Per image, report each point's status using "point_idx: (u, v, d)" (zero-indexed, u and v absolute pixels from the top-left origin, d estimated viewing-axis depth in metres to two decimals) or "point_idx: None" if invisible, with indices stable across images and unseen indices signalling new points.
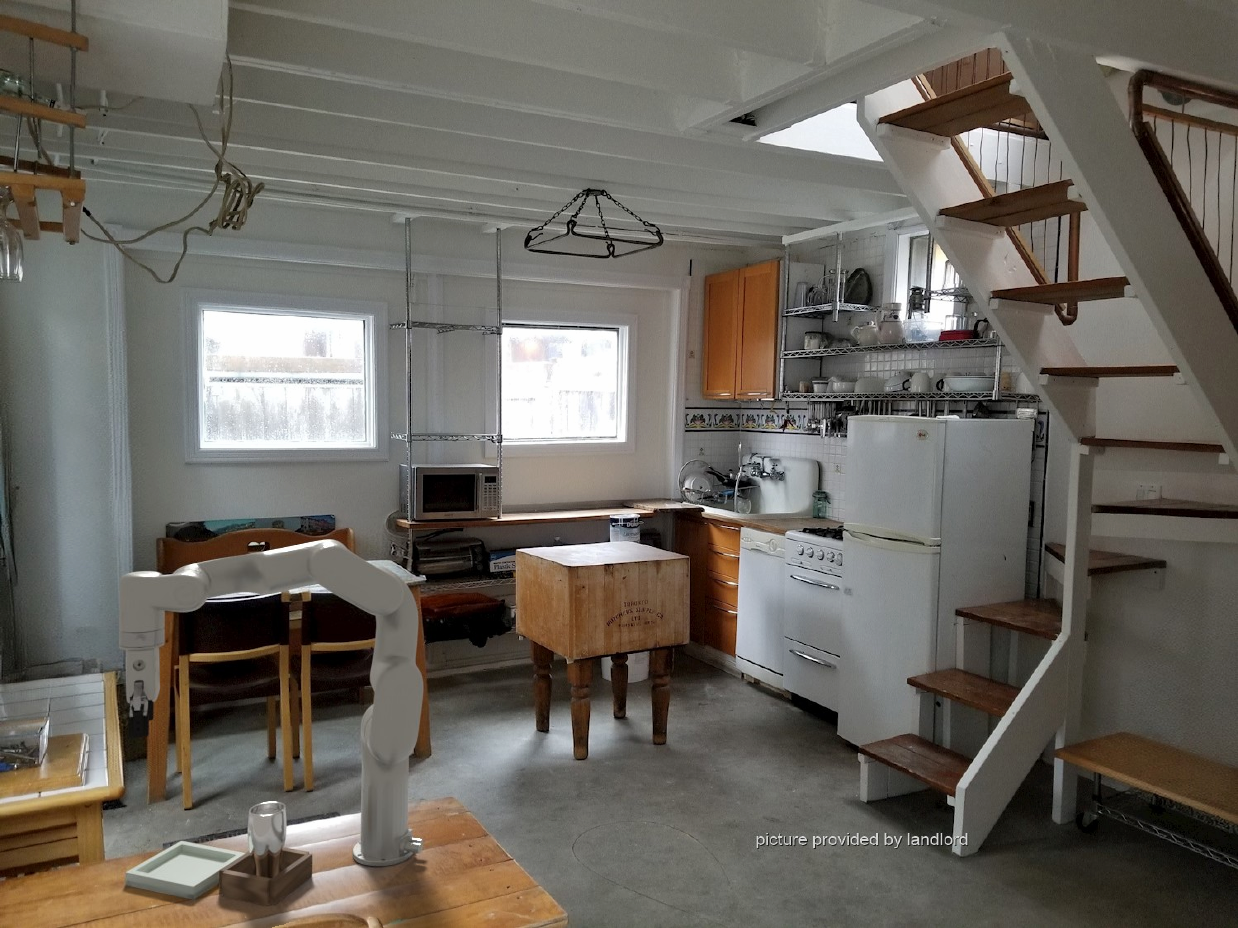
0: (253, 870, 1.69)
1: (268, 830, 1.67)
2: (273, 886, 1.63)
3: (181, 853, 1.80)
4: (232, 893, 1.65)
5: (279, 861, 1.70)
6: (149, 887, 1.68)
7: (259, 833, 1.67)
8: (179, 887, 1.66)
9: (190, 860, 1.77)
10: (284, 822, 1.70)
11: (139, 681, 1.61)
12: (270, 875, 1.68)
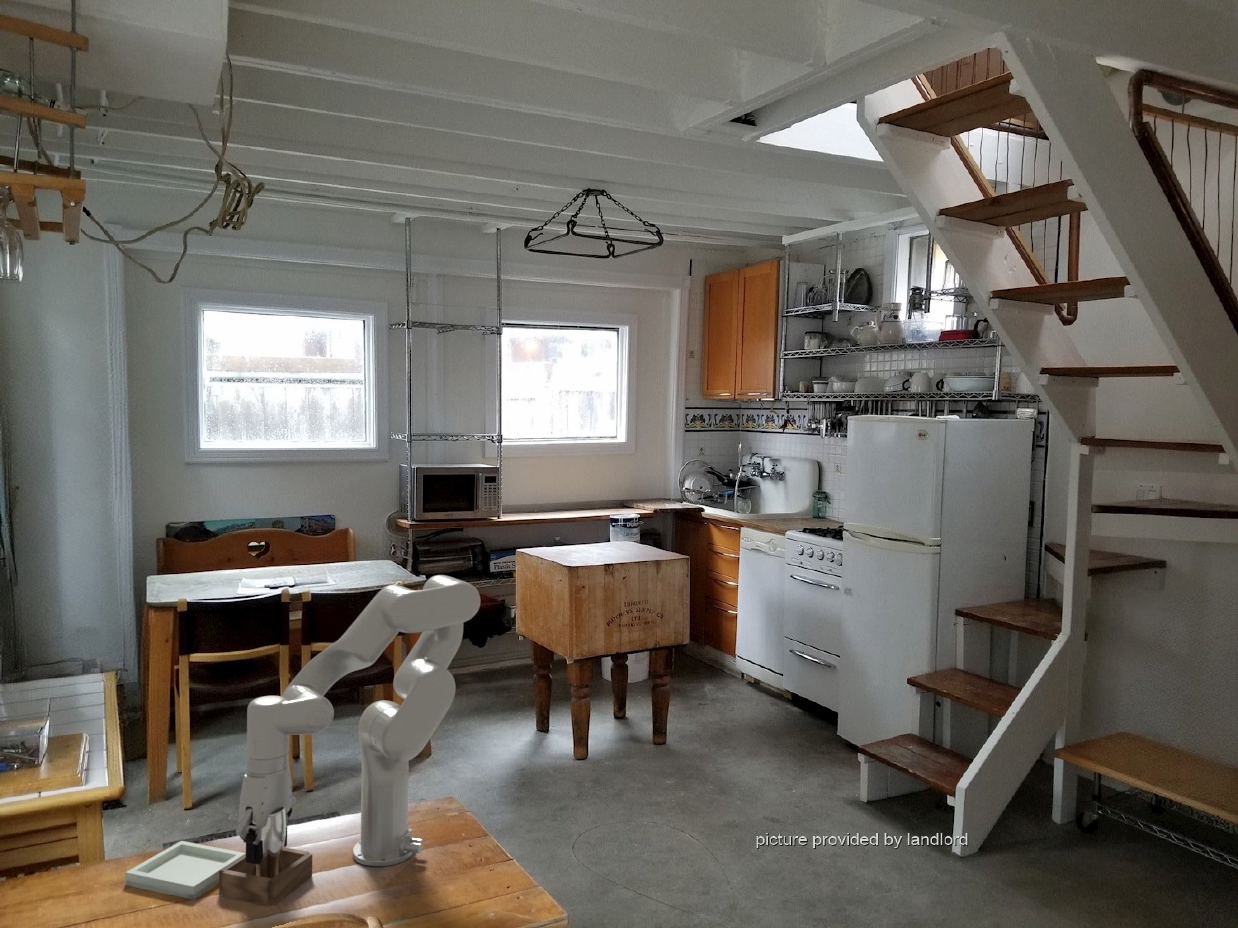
0: (253, 870, 1.69)
1: (268, 830, 1.67)
2: (273, 886, 1.63)
3: (181, 853, 1.80)
4: (232, 893, 1.65)
5: (279, 861, 1.70)
6: (149, 887, 1.68)
7: None
8: (179, 887, 1.66)
9: (190, 860, 1.77)
10: (284, 822, 1.70)
11: None
12: (270, 875, 1.68)
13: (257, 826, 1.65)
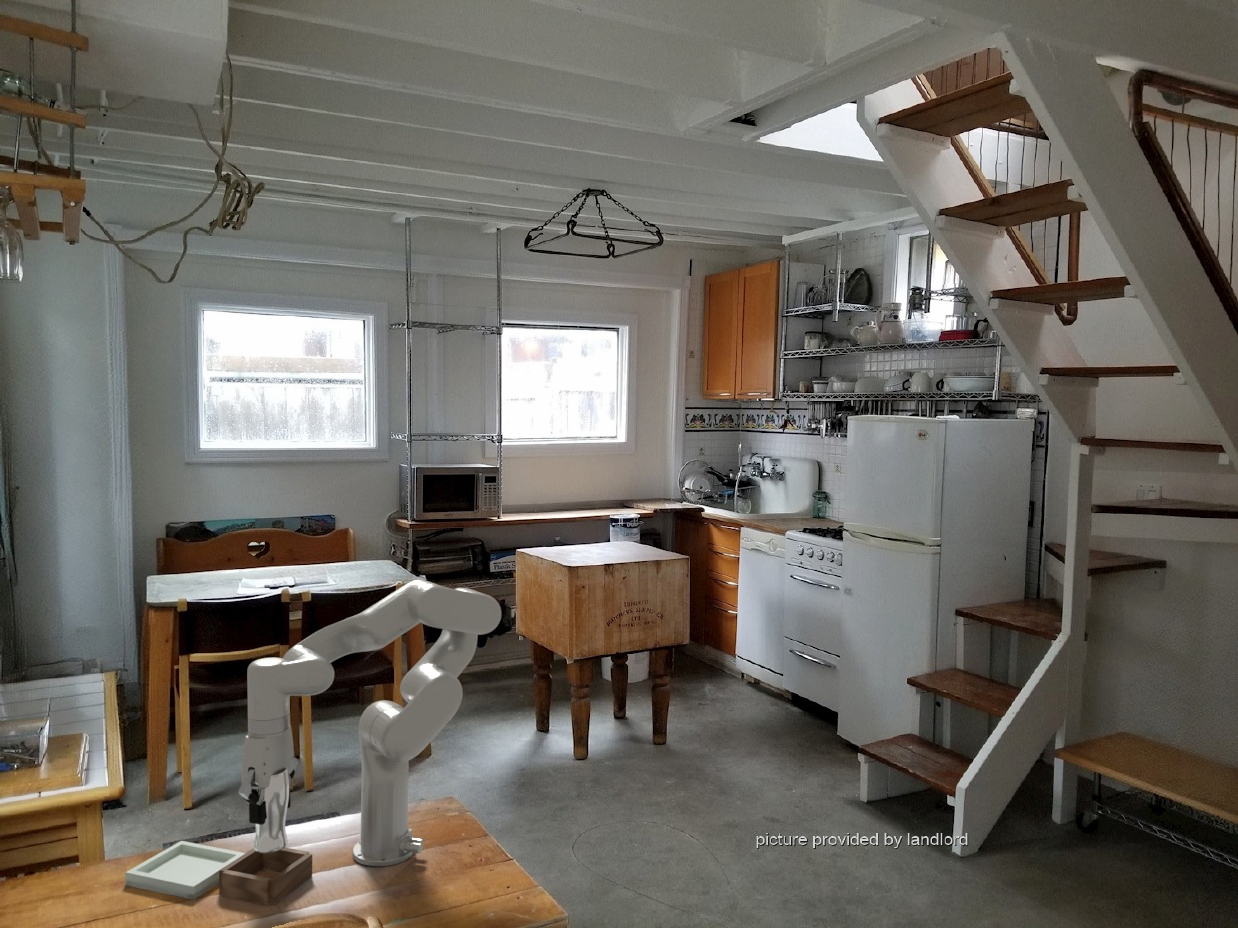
0: (257, 831, 1.69)
1: (271, 791, 1.67)
2: (273, 886, 1.63)
3: (181, 853, 1.80)
4: (232, 893, 1.65)
5: (283, 822, 1.70)
6: (149, 887, 1.68)
7: None
8: (179, 887, 1.66)
9: (190, 860, 1.77)
10: (286, 783, 1.70)
11: None
12: (274, 835, 1.69)
13: (260, 786, 1.65)
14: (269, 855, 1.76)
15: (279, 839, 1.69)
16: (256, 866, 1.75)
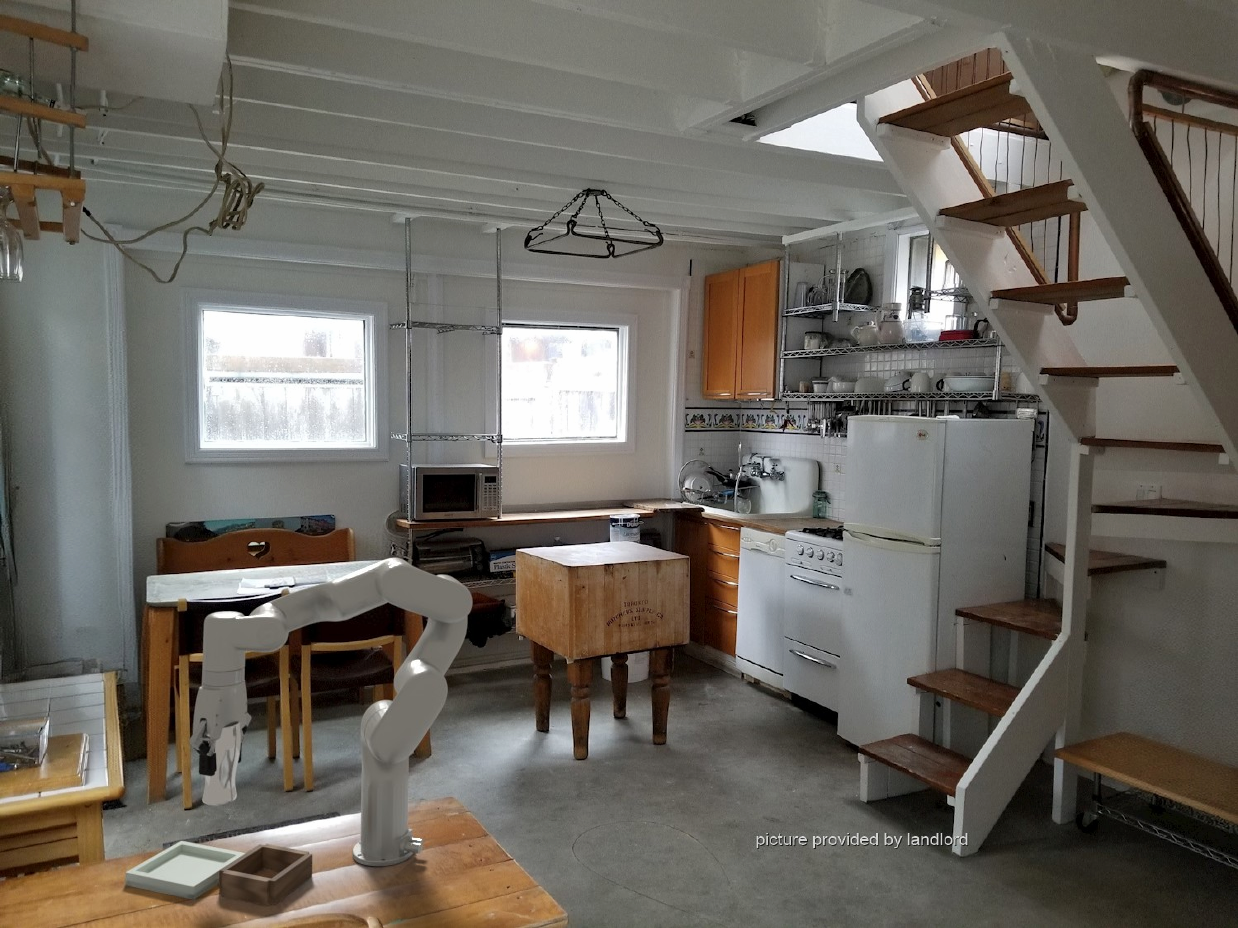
0: (206, 783, 1.70)
1: (222, 743, 1.68)
2: (273, 886, 1.63)
3: (181, 853, 1.80)
4: (232, 893, 1.65)
5: (233, 775, 1.71)
6: (149, 887, 1.68)
7: None
8: (179, 887, 1.66)
9: (190, 860, 1.77)
10: (238, 736, 1.71)
11: None
12: (223, 788, 1.69)
13: (211, 737, 1.66)
14: (269, 855, 1.76)
15: (228, 792, 1.70)
16: (256, 866, 1.75)
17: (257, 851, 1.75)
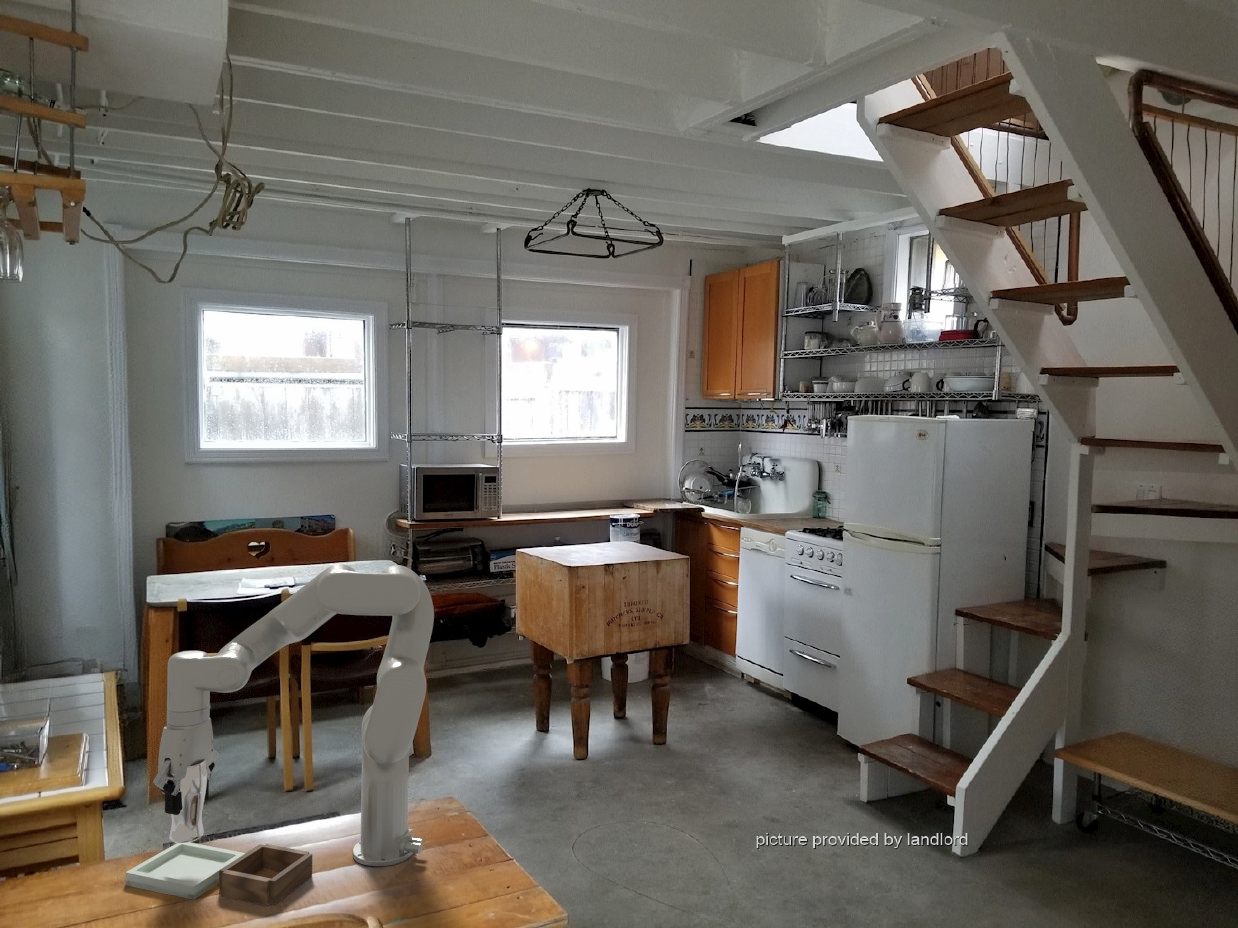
0: (172, 821, 1.71)
1: (187, 781, 1.70)
2: (273, 886, 1.63)
3: (181, 853, 1.80)
4: (232, 893, 1.65)
5: (199, 813, 1.73)
6: (149, 887, 1.68)
7: None
8: (179, 887, 1.66)
9: (190, 860, 1.77)
10: (204, 774, 1.73)
11: None
12: (189, 826, 1.71)
13: (175, 777, 1.68)
14: (269, 855, 1.76)
15: (194, 830, 1.72)
16: (256, 866, 1.75)
17: (257, 851, 1.75)
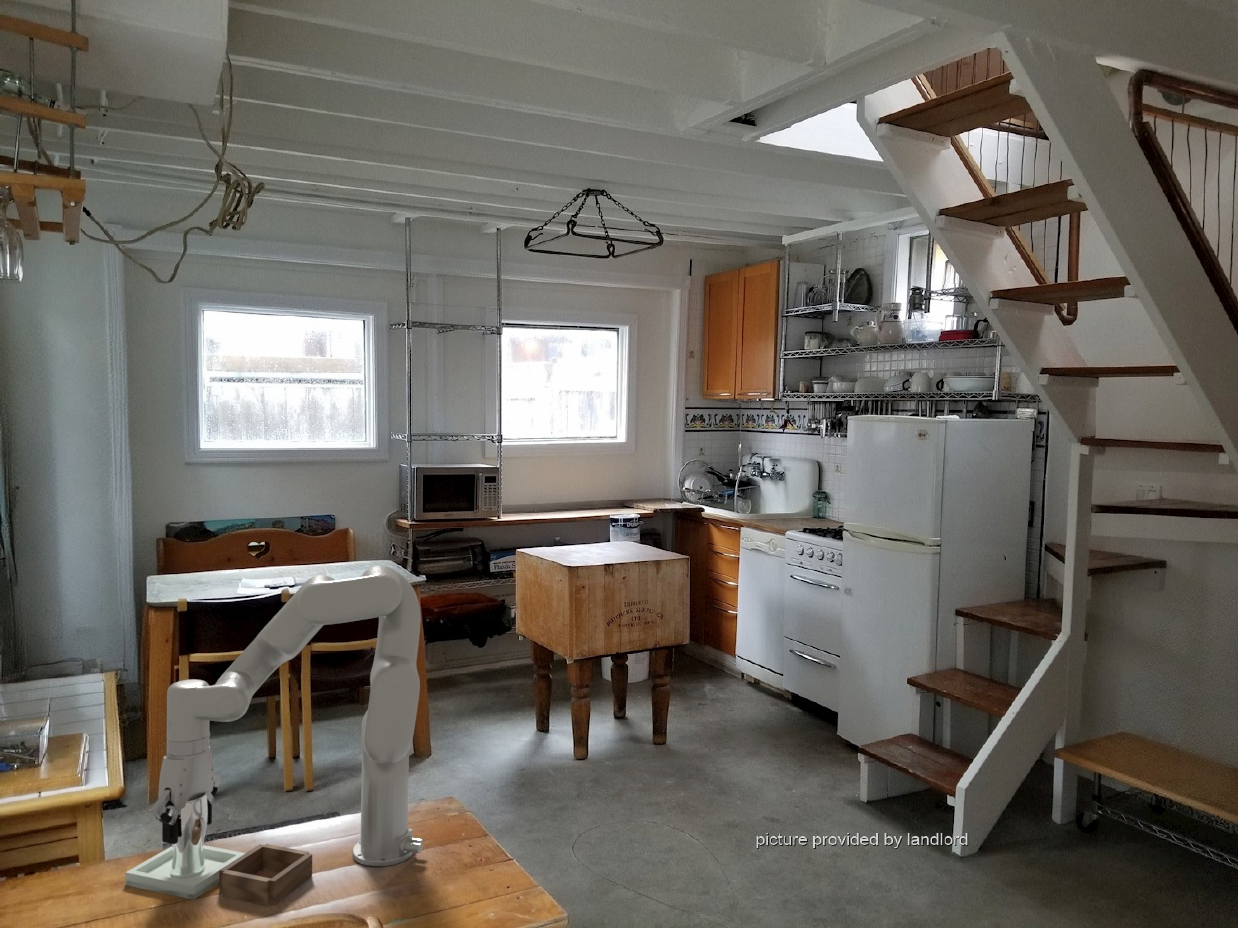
0: (174, 855, 1.72)
1: (187, 816, 1.70)
2: (273, 886, 1.63)
3: None
4: (232, 893, 1.65)
5: (200, 847, 1.73)
6: (149, 887, 1.68)
7: (178, 818, 1.70)
8: (179, 887, 1.66)
9: None
10: (204, 808, 1.73)
11: None
12: (190, 860, 1.71)
13: (175, 807, 1.68)
14: (269, 855, 1.76)
15: (195, 864, 1.72)
16: (256, 866, 1.75)
17: (257, 851, 1.75)
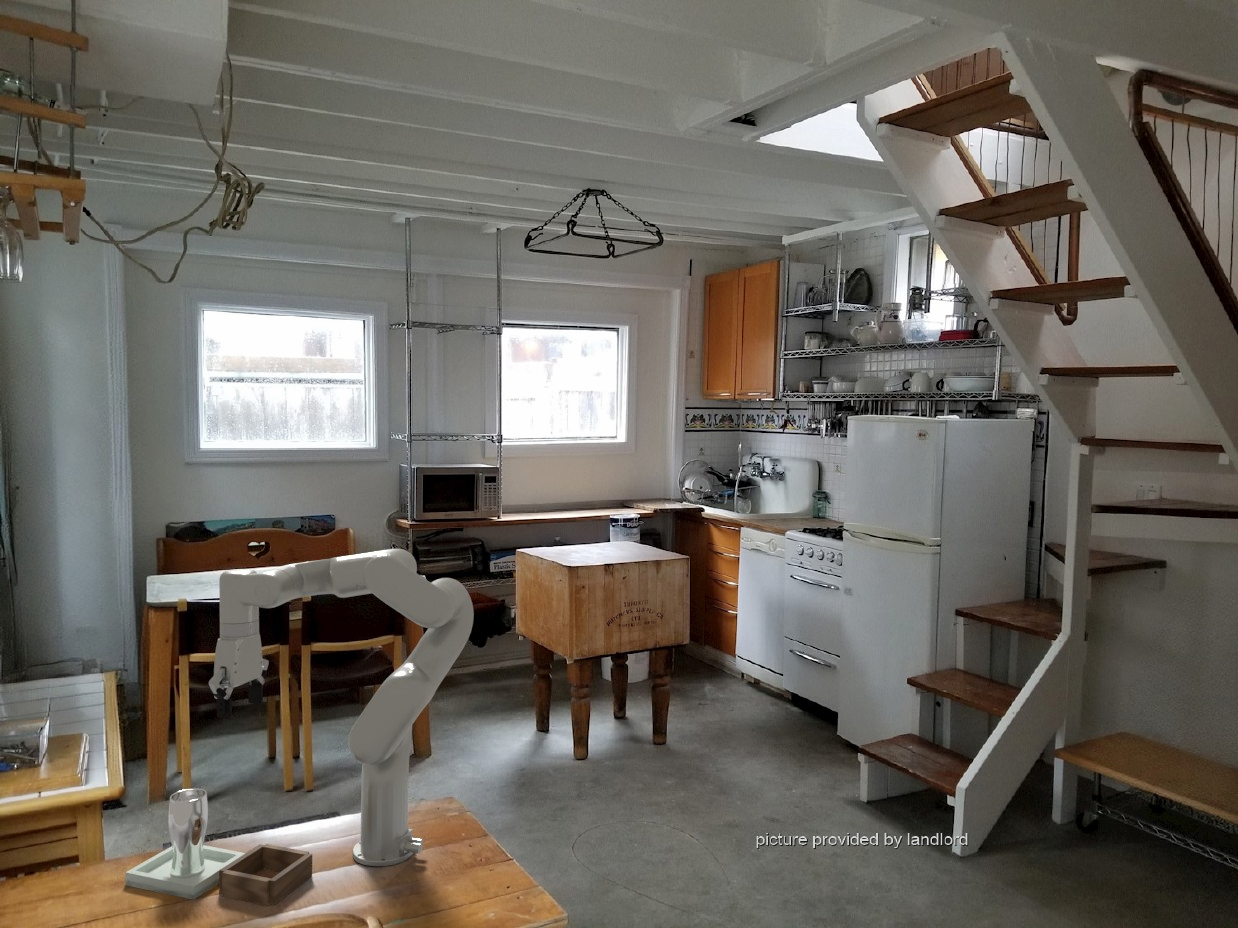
0: (174, 855, 1.72)
1: (187, 816, 1.70)
2: (273, 886, 1.63)
3: None
4: (232, 893, 1.65)
5: (200, 847, 1.73)
6: (149, 887, 1.68)
7: (178, 818, 1.70)
8: (179, 887, 1.66)
9: None
10: (205, 808, 1.73)
11: None
12: (190, 860, 1.71)
13: (231, 684, 1.80)
14: (269, 855, 1.76)
15: (195, 864, 1.72)
16: (256, 866, 1.75)
17: (257, 851, 1.75)
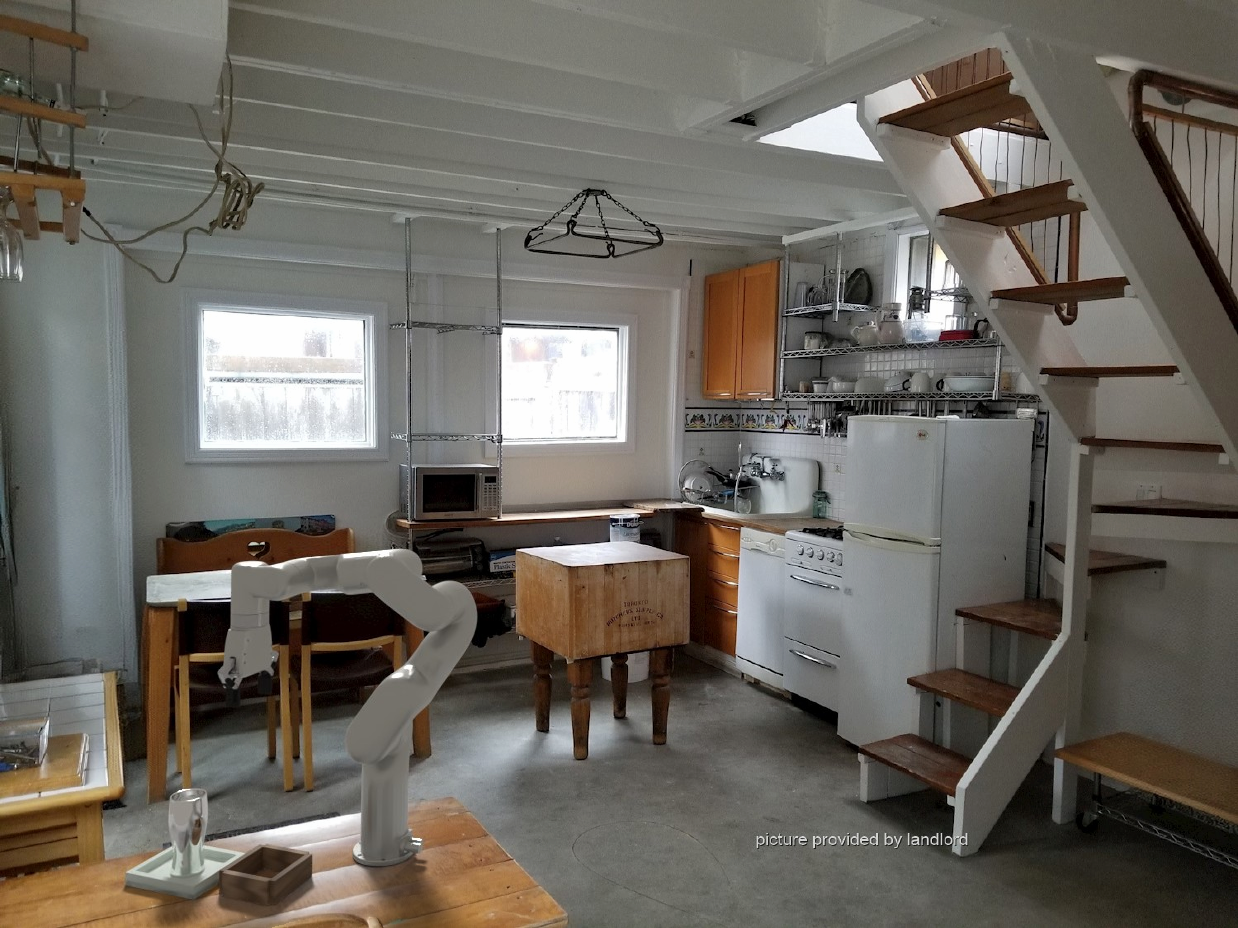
0: (174, 855, 1.72)
1: (188, 816, 1.70)
2: (273, 886, 1.63)
3: None
4: (232, 893, 1.65)
5: (200, 847, 1.73)
6: (149, 887, 1.68)
7: (178, 818, 1.70)
8: (179, 887, 1.66)
9: None
10: (205, 808, 1.73)
11: None
12: (190, 860, 1.71)
13: (240, 674, 1.82)
14: (269, 855, 1.76)
15: (195, 864, 1.72)
16: (256, 866, 1.75)
17: (257, 851, 1.75)
